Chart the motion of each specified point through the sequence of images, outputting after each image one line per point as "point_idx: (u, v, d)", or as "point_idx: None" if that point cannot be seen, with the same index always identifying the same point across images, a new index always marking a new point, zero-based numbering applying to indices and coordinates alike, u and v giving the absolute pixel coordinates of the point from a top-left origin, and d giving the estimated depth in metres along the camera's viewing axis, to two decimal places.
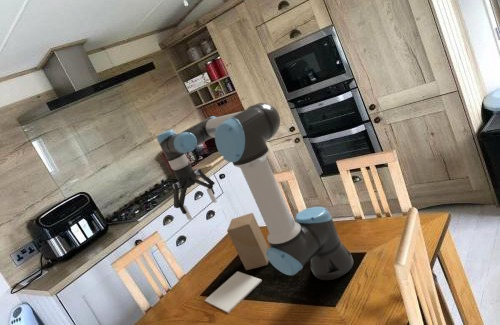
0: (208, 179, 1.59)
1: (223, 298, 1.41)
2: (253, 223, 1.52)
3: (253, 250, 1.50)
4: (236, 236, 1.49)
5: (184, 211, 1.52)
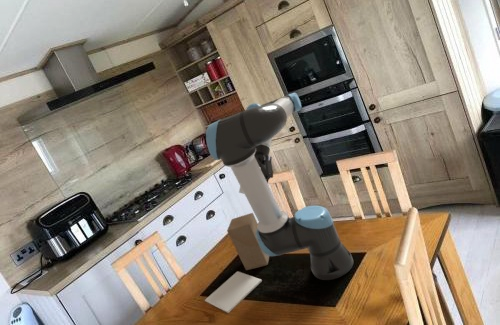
0: (266, 168, 1.51)
1: (223, 298, 1.41)
2: (253, 223, 1.52)
3: (253, 250, 1.50)
4: (236, 236, 1.49)
5: None
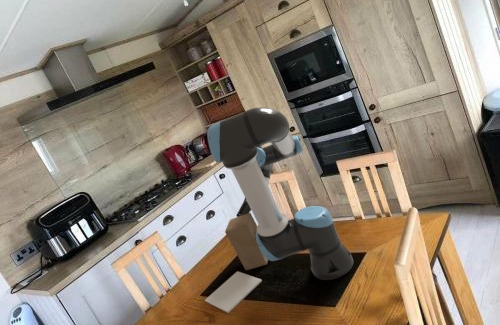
0: None
1: (223, 298, 1.41)
2: (251, 223, 1.52)
3: (252, 250, 1.50)
4: (234, 236, 1.49)
5: None
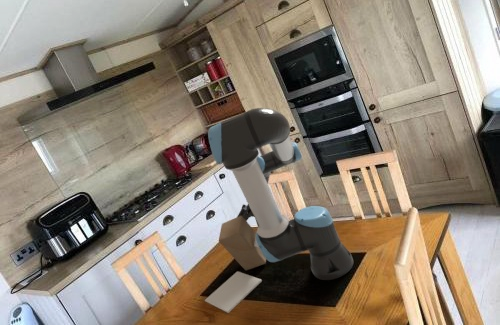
0: None
1: (223, 298, 1.41)
2: (244, 227, 1.47)
3: (248, 254, 1.48)
4: (229, 244, 1.46)
5: None
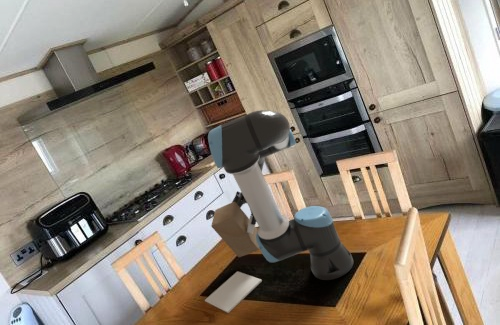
0: None
1: (223, 298, 1.41)
2: (237, 213, 1.47)
3: (241, 240, 1.47)
4: (221, 229, 1.45)
5: None
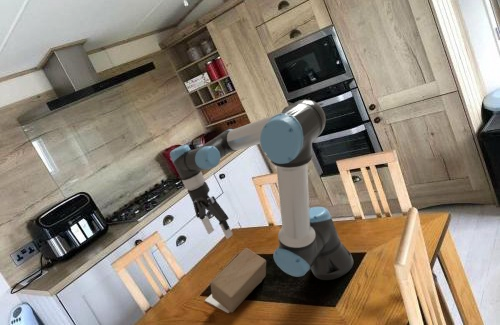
0: (217, 214, 1.32)
1: None
2: (236, 300, 1.30)
3: None
4: None
5: None
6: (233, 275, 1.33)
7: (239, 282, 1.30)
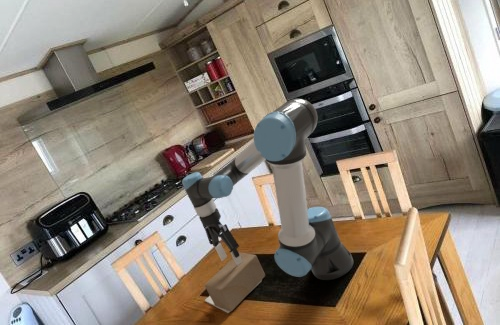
0: (228, 242, 1.35)
1: None
2: (230, 295, 1.32)
3: None
4: None
5: None
6: (224, 274, 1.37)
7: (229, 277, 1.34)
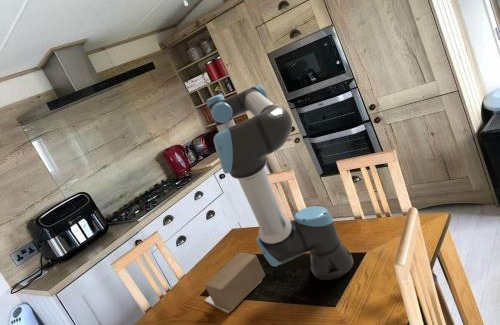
0: None
1: None
2: (230, 295, 1.32)
3: None
4: None
5: None
6: (224, 274, 1.37)
7: (229, 277, 1.34)
